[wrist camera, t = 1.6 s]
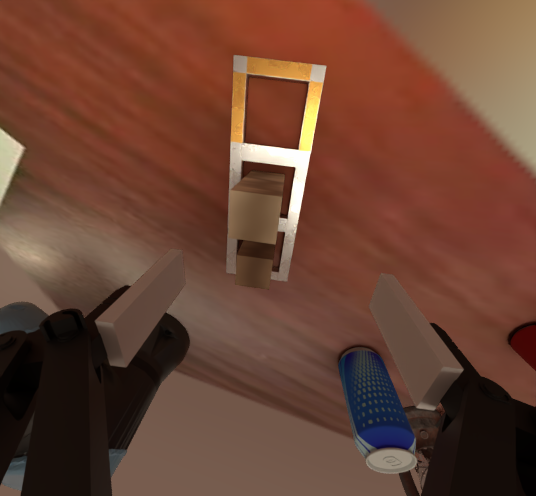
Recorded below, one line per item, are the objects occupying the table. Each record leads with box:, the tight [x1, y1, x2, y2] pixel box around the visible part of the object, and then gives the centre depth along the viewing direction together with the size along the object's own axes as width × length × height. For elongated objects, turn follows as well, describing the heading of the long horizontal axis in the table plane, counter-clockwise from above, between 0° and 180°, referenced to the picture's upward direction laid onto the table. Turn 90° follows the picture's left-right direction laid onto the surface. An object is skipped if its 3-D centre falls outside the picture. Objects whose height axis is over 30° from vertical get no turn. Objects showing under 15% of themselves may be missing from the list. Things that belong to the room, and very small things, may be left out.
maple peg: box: [228, 170, 285, 244], centre depth 26 cm, size 4×4×13 cm
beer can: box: [338, 347, 417, 473], centre depth 38 cm, size 8×8×16 cm
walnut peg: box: [235, 240, 275, 290], centre depth 32 cm, size 4×4×8 cm
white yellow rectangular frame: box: [226, 55, 326, 282], centre depth 31 cm, size 10×28×2 cm, turn 173°
